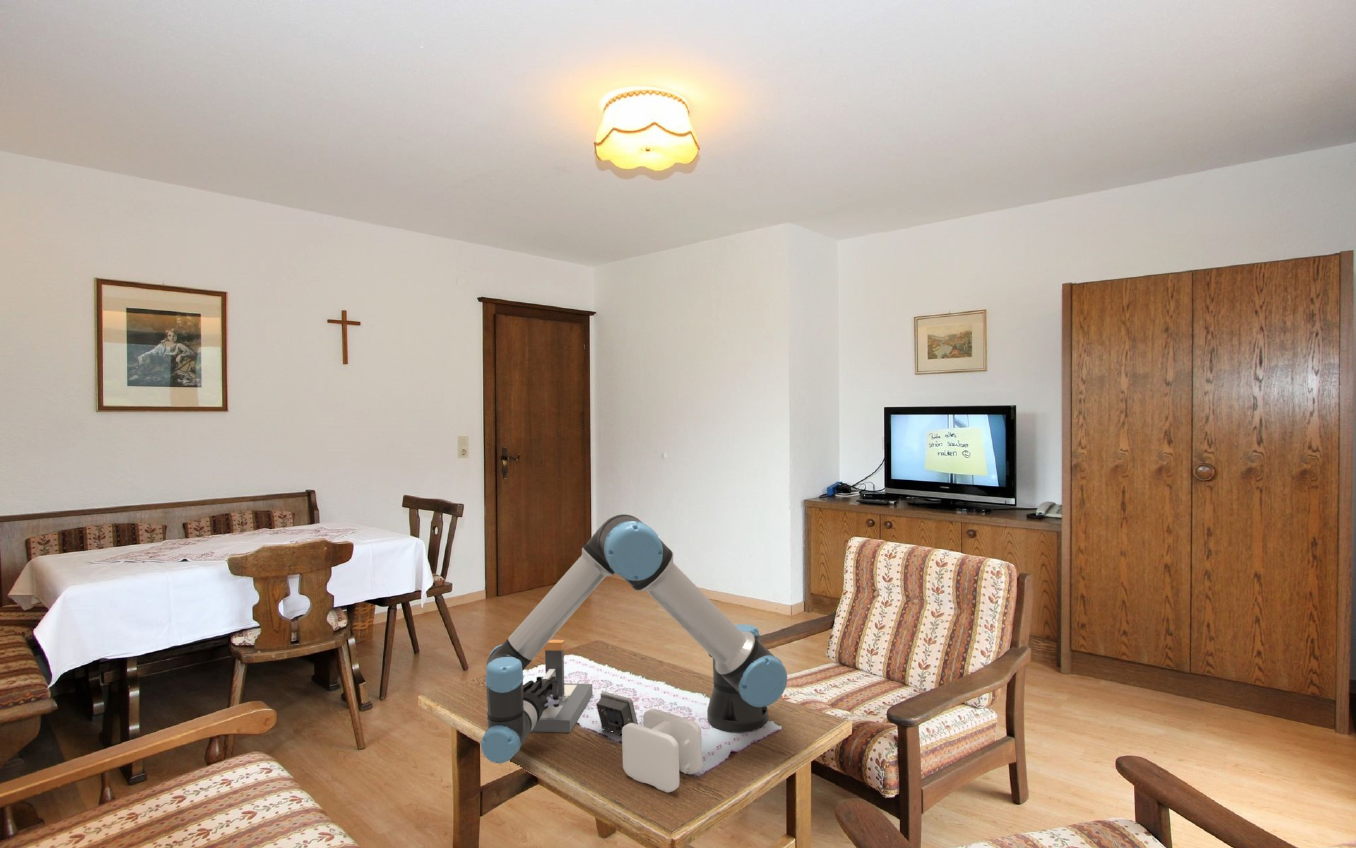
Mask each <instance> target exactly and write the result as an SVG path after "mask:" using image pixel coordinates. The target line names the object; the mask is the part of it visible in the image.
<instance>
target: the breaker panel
mask: <svg viewBox="0 0 1356 848" xmlns="http://www.w3.org/2000/svg"><path fill="white" fill-rule="evenodd" d="M564 692H565V694H564V696H563V697H559V707H554V706H551V705H549V706H548V708H547V709H545V710H544V711H543V713H542V716H541V717H540V719H539V720H538V722H537V723H536V725H535V727H534V728H533V729H532V731H531V732H537V733H538V732H540V733H564V734H567V733H568V734H569V733H572V730H573V729H574V727H575V726H576V724H577V722H578V720H579V718H580V717H581V715H582V714H583V712H584V710H585V709H586V707H587V706H588V704H589V702H590V700H591V698H592V696H593V694H594V693H593V683H567V682H566V683H565V682H564ZM549 698H550V697H547V700H549ZM581 713H582V714H581Z"/></svg>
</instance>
